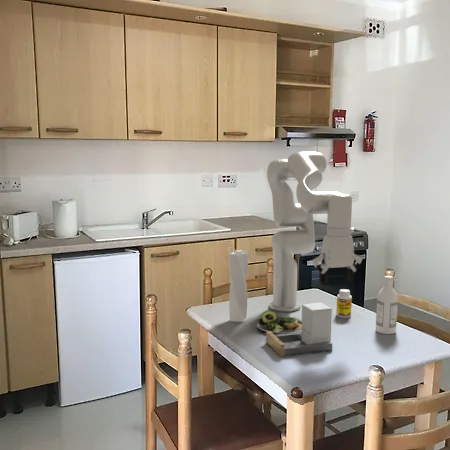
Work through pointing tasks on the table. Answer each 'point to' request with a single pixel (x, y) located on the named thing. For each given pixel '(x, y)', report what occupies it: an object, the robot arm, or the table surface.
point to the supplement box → (316, 323)
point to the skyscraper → (238, 285)
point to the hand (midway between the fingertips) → (336, 283)
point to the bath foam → (387, 308)
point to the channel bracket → (293, 344)
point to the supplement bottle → (344, 303)
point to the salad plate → (278, 323)
